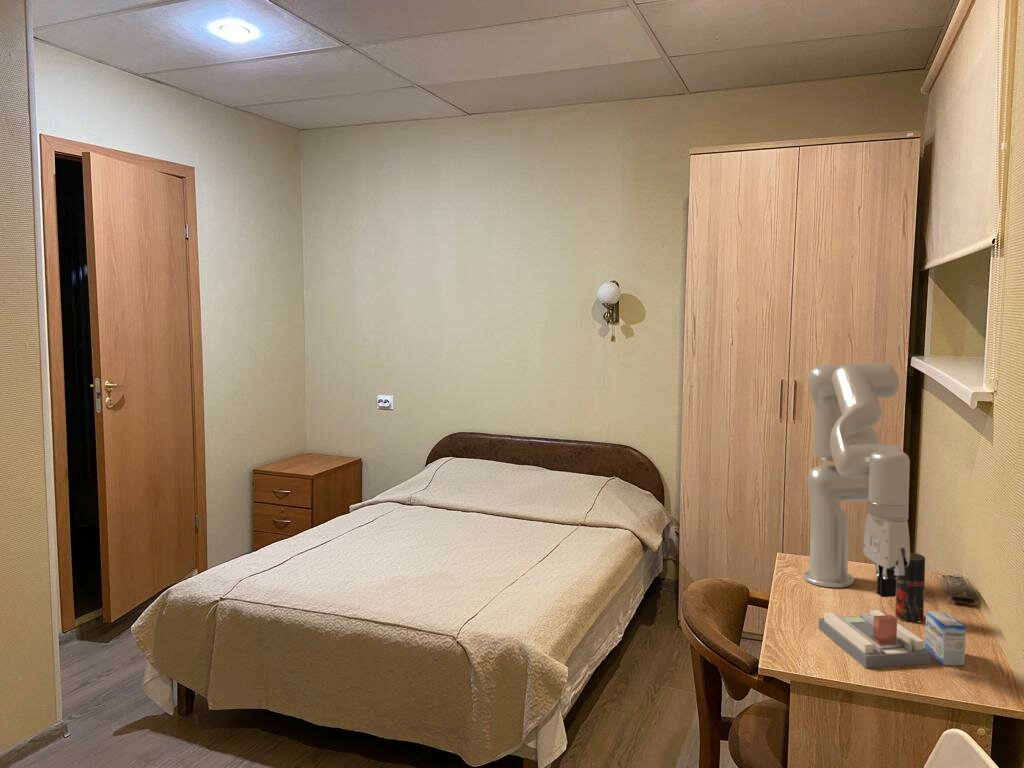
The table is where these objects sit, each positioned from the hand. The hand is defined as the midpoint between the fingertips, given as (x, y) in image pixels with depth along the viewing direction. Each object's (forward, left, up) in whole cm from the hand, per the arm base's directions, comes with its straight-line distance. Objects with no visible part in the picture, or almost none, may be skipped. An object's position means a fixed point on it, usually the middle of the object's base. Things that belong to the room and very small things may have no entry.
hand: (886, 595), depth 162 cm
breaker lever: (0, 0, -10) cm, 10 cm away
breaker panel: (-5, 0, -13) cm, 14 cm away
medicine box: (+2, +12, -14) cm, 18 cm away
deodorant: (-18, +17, -13) cm, 28 cm away
